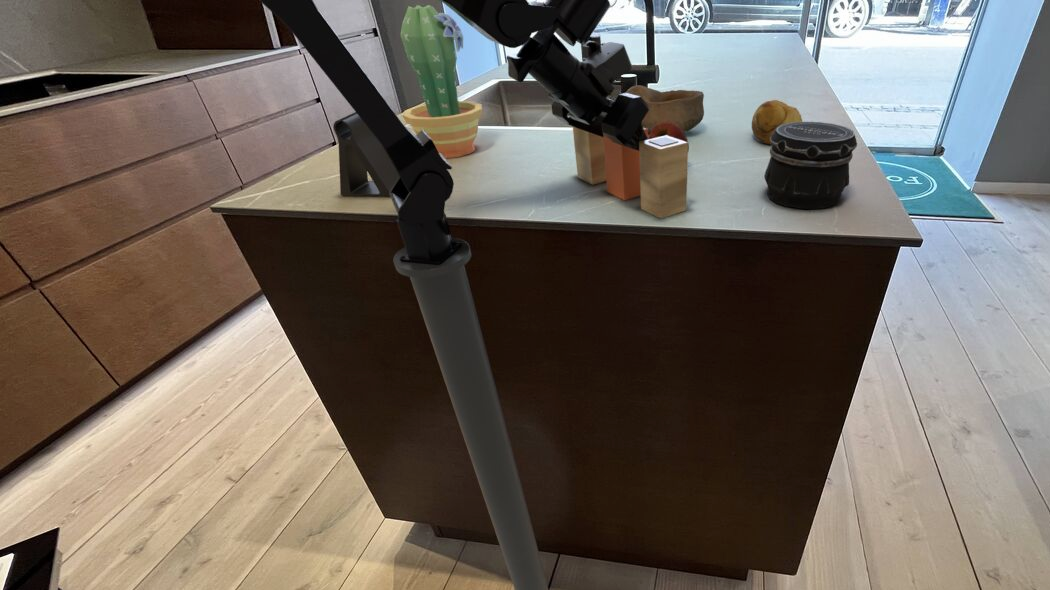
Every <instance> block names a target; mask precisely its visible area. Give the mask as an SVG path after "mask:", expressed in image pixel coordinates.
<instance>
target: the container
mask: <svg viewBox="0 0 1050 590" xmlns="http://www.w3.org/2000/svg"><path fill="white" fill-rule="evenodd" d="M770 142H771V144H770V145H771V146H770V149H769V154H770V158H769V161H768V164H767V167H766V170H765V171H764V172H765V173H764V175H763V176H764V181H765V183H766V185H767V198H769V200H771V201H773V202H774V203H776V204H778V205H781V206H784V207H789V208H798V209H805V210H818V209H819V210H820V209H825V208H826V209H827V208H831V207H833V206H835V205H837V204H838V203H839V202H840V200H841V198H842V194H843V192H844V190H845V188H847V187H849V185H850V162H851V160H852V159H853V151H855V150H856V148H857V147H858V142H857V138H856V135H855V131H854V130H853V129H851V128H849V127H847V126H843V125H841V124H840V125H839V124H835V123H831V122H822V121H802V122H793V123H787V124H782V125H780V126H778V127H777V128H776V130H775V131H774V132H773V133H772V134H771V138H770Z"/></svg>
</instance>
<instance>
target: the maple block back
mask: <svg viewBox="0 0 1050 590" xmlns="http://www.w3.org/2000/svg"><path fill="white" fill-rule="evenodd" d="M604 118H605V117H604ZM572 135H573V143H574V144H573V145H574V151H575V152H574V155H575V163H576V174H577V178H578V179H580V180H582V181H584V182H585V183H588V184H590V185H592V186H593V185H596V184H601V183H604V182H607V180H606V166H605V151H604V137H601V136H598V135H595V134H592V133H589V132H587V131H584V130H581V129H578V128H575V127H572Z"/></svg>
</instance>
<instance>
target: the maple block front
mask: <svg viewBox="0 0 1050 590" xmlns="http://www.w3.org/2000/svg"><path fill="white" fill-rule="evenodd" d="M688 144H689V141H688V142H685V141H682V140H679V139H676V138H673V137H670V136H667V135H665V136H661V137H657V138H653V139H648V140H644V141H640V142H639V155H640V191H641V196H640V210H642V211H644V212H646V213H648V214H650V215H652V216H654V217H656V218H658V219H660V220H661V219H664V218H667V217H670V216H674V215H677V214H680V213H683V212H685V211H687V202H688V200H687V199H688V196H687V195H688V166H689V165H688V163H689V162H688V159H689V151H688Z"/></svg>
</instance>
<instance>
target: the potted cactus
mask: <svg viewBox="0 0 1050 590" xmlns="http://www.w3.org/2000/svg"><path fill="white" fill-rule="evenodd" d="M399 36H400V39H401V42H402V46H403V48H404V51H405V54H406V57H407V60H408V62H409V64H410V66H411V68H412V70H413V71H414V73H415V74H416V77H417V80H418V83H419V84H418V85H419V87H420V90H421V93H422V97H423V101H424V103H425V104H420V105H415V106H413V107H410V108H408V109H405V110H404V111H403V113H402V115H401V116H402V118H403V119H404V122H405V124H408V125H410V126H411V128H412V130H413V132H414V133H415V135H417V134H418V133H419V132H420V131H421V130H424V131H425V132H426V133H427V135H428V136H429V137H430V138H431V139H432V141H433V143H434V145H435V146H436V148H437V150H438V152H439V153H441V154H442V155H443V157H444V158H445V159H450V158H459V157H463V156H467V155H470V154H471V153H473V152H475V151H476V148H475V147H476V146H475V144H474V142H475V140H476V137H477V135H478V130H479V121H480V119H481V118H482V117H483V116H482V115H483V112H482V111H483V107H482V106H483V105H482V103H478V102H475V101H469V100H468V101H467V100H459V98H458V88H457V81H456V69H457V68H456V67H457V59H458V58H457V52H458V53H459V52H460V50H461V49H464V35H463V32H462V29H461V28H460V25H458V22H457V21H456V20H455V19H454V18H453V17H452V16H451V15H449V14H447V13H444V12H438V11H437V10H436V9H435V8H434V6H433V5H431V4H427V5H426V6H421V5H419V4H417V5H415V7H412V6H409V5H408V6H407V10H406V12H405V15H404V18H403V20H402V24H401V28H400V35H399Z"/></svg>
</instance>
